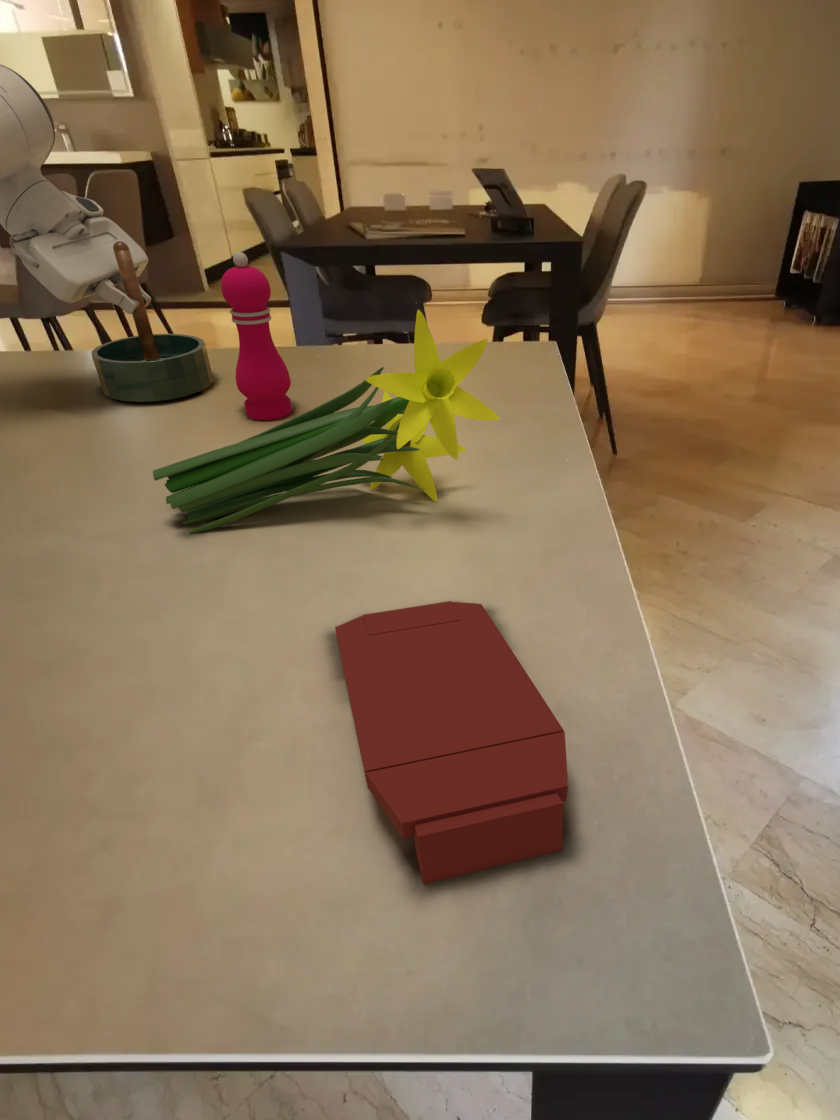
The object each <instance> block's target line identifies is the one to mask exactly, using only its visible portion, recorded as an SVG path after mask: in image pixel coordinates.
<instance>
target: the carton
mask: <svg viewBox="0 0 840 1120" xmlns="http://www.w3.org/2000/svg"><path fill="white" fill-rule="evenodd" d="M334 628H335V636H336V641H337V646H338V651H339V656H340V661H341V665H342V671H343V674H344V676H343V677H344V680H345V684H346V685H345V686H346V690H347V694H348V699H349V703H350V708H351V714H352V719H353V725H354V729H355V732H356V738H357V743H358V748H359V752H360V759H361V762H362V767H363V771H364V777H365V781H366V787H367V789H368V790H369V792H370V794H371V795H372V797H374V799H375V800H376V802H377V804H378V805H379V806H380V807H381V809H382V811H383V812H384V814H386V816H387V817H388V819H389V820H390V822H391V823H392V825H393V826H394V828H395V830H397V831H398V833H399V835H400V836H401V837H402V839H408V838H412V837H413V841H414V848H415V849H414V850H415V856H416V859H417V863H418V869H419V871H420V876H421V880H422V885H426V884H429V883H435V882H438V881H443V880H446V879H450V878H453V877H458V876H461V875H466V874H470V873H474V872H478V871H482V870H486V869H490V868H495V867H498V866H502V865H506V864H510V863H515V862H519V861H523V860H525V859H526V860H527V859H531V858H534V857H538V856H542V855H547V854H551V853H555V852H559V851H562V850H563V818H564V817H563V816H564V803H563V802H567V798H568V791H569V790H568V789H569V779H568V778H569V775H568V762H567V747H566V732H565V730H564V728H563V726H562V725H561V723H560V721H559V720H558V719H557V718H556V716H555V714H554V712H553V711H552V710H551V707H549V705H548V703H547V702H546V700H545V699H544V698H543V696H542V694H541V692H540V691H539V690H538V688H537V687H536V685H535V684H534V682H533V681H532V679H531V678H530V676H529V675H528V673H527V671H526V669H524V667H523V665H522V664H521V662H520V661H519V659H518V658H517V656H516V655H515V653H514V652H513V649H512V648H511V647H510V645H509V644H508V642H507V641H506V640H505V637H504V636H503V634H502V633H501V632H500V630H499V628H498V626H497V625H496V624H495V622H494V621H493V619H492V618H491V616H490V615H489V613H488V612H487V610H486V608H485V607H484V605H483V604H482V603H477V602H475V603H474V602H460V601H451V600H448V601H441V602H436V603H429V604H422V605H415V606H410V607H409V606H408V607H403V608H397V609H390V610H385V611H377V612H371V613H365V614H362V615H360V616H358V617H355V618H353V619H351V620H349V621H346V622H343V623H342V624H339V625H337V626H335V627H334Z"/></svg>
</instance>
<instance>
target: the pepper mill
mask: <svg viewBox="0 0 840 1120" xmlns="http://www.w3.org/2000/svg"><path fill="white" fill-rule="evenodd" d="M232 259H233V260H232V261H233V264H234V266H233V267H230V268H228V269H227V270H226V271H225V272H224V273H223V275H222V276H221V281H220V290H221V294H222V297H223V299H224V300H225V302H226V303H227V304H229V306H230V307H231V309H230V310H229V313H230V315H231V322H232V323H234V324H235V326H236V330H237V334H238V344H239V347H238V348H239V349H238V357H237V362H236V367H235V384H236V387H237V390H238V391H239V392H240V394H242V395H243V396H244V397H245V398H246V399H245V400H244V402H243V404H244V408H245V409H244V410H245V414H246V416H247V417H248V418H249V419H253V420H256V421H274V420H279V419H282V418H286V417H287V416H289V415H291V413H293V412H292V411H293V408H292V402H291V397H289V396H288V395H287V393H288V391H289V390H290V388H291V384H292V381H291V377H290V373H289V370H288V367H287V365H286V363H285V361H284V359H283V358H282V356H281V355H280V353H279V351H278V349H277V348H276V345H275V342H274V340H273V336H272V334H271V329H270V321H271V320H272V316H271V313H270V312H271V308H270V307H268V306H267V304H268V302H269V301H270V299H271V296H272V295H271V294H272V291H271V290H272V289H271V284H270V281H269V280H268V278H267V276H266V275H265V273H264V272H263V271H261V270H260V269H258V268H257V267H254V266H250V265H248V264H249V259H248V257H247V254H245V253H244V252H242V251H237V252H234V254H233V255H232Z"/></svg>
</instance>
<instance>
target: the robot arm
mask: <svg viewBox="0 0 840 1120" xmlns="http://www.w3.org/2000/svg"><path fill="white" fill-rule="evenodd" d="M55 142H56V128H55V123H54V119H53V116H52V114H51V111H50V109H49V107H48V105H47V103H46V102H45V101H44V99H43V98H42V96H41V95H40V94H39V92H38V91H37V89H36V88H34V86H33V85H32V84H31V83H30V82H29V81H28V80H27V79H26V78H25V77H23V76H22V75H21V74H20V73H18V72H16V71H15V70H14V69H12V68H9V67H8V66H5V65H3V64H0V225H1V227H2V228H3V229H4V230H5V231H6V232H7V233H8V234H9V235H10V236H9V245H10V247H11V248H10V249H11V251H12V252H13V253H14V254H15V255H16V256H18V257H19V258H20V259H21V262H22V264H23V266H24V267H25V268H26V270H27V271H28V272H29V274H31V275H32V276H33V277H34V278H35V279H36V280H37V281H38V282H39V283H40V284H41V285H42V286H43V287H44V288H45V289H46V290H48V292H50V293H51V294H52V295H53V296H54V297H55V298H57V300H59V301H62V302H64V303H66V304H73V303H75V302H79V301H80V300H83V299H86V298H88V297H90V296H93V295H95V294H97V295H98V296H99V297H100V298H102V299H103V300H105V301H107V302H109V303H111V304H113V305H116V306H118V307H119V308H120V309H122V311H124V312H125V313H127V315H132V313H134V312H136V311H137V309H138V308H139V306H140V304H139V302H138V301H137V300H135V299H134V297H132V296H131V295H130V294H128V295H126V293H124V292H123V291H121V290H120V289H118V288H116V286H118V287H119V288H121V289H122V290H124V291H125V288H124V285H123V281H122V278H121V274H120V271H119V267H118V264H117V260H116V257H115V254H114V250H113V245H114V243H115V242H117V241H122V242H124V243H126V244H127V246H128V247H129V250H130V253H131V257H132V261H133V264H134V268H135V271H136V275H137V278H139V277H140V276H141V275H142V274H143V272H144V270H145V269H146V267H147V264H148V263H149V258H148V255H147V254H146V252H145V250H144V249H143V248H142V247H141V246H140V245H139V244H138V243H137V242H136V241H135V240H134V239H133V238H132V237H131V236H130V235H129V234H128V233H127V232H126V231H124V230H123V228H122V227H120V226H119V225H118V224H117V223H116V222H114V221H113V220H112V219H110V218H108V217H107V216H103V215H104V209H103V207H101V206H100V204H98V202H96V201H95V200H93V199H90V198H87V197H86V198H85V197H80V196H78V195H74V194H71V193H68V192H67V191H65V190H60V189H58V188H57V187H56V186H55V185H54V184H53V183H52V182H51V181H50V180H49V179H47V178H46V177H45V176H43V173H42V171H41V168H42V165H44V164H45V163H46V161H47V160H48V158H49V156H50V154H51V152H52V150H53V148H54V145H55ZM139 286H140V289H141V293H142V297H143V300H144V304H145V307H148V306H149V305H150V303H151V302H152V297H151V296H150V295H149V294H148V293H147V292H146V291H144V290H143V288H142V287H141V285H140V284H139Z"/></svg>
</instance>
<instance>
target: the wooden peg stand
mask: <svg viewBox="0 0 840 1120" xmlns="http://www.w3.org/2000/svg"><path fill="white" fill-rule="evenodd" d="M113 250H114V254H115V257H116V260H117V264H118V267H119V271H120V274H121V278H122V281H123V285H124V288H125V290H124V291H125V294H126V295H128V294H130V295H131V296H132V297H134V299H135V300H137V301H138V302H139V304H140V306H139V308H138V309H137V311H136V312H134V313H132V314H131V316H132V318H133V322H134V325H135V329H136V333H137V336H139V340H140V343H141V346H142V350H143V353H144V357H145V359H146V360H142V361H148V360H157V359H164V358H159V354H158V350H157V347H156V343H155V340H154V336H153V334H154V332H153V329H152V326H151V322H150V319H149V315H148V311H147V308H146V307H145V304H144V300H143V297H142V293H141V289H140V286H141V285H140V282H139V279H138V277H137V275H136V271H135V268H134V264H133V261H132V257H131V253H130V250H129V247H128V246H127V244H126V243H124V242H122V241H117V242H115V243H114V245H113ZM139 285H140V286H139Z"/></svg>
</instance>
